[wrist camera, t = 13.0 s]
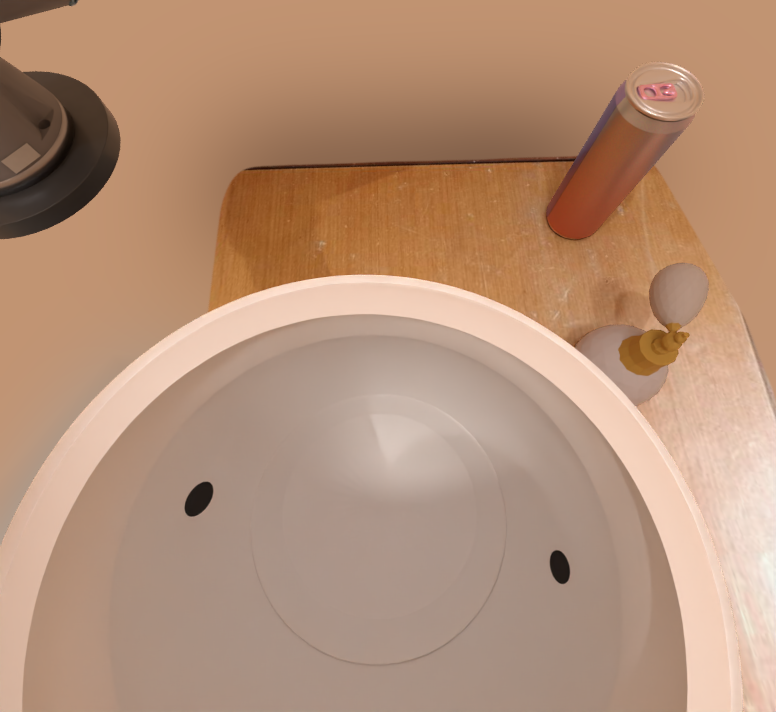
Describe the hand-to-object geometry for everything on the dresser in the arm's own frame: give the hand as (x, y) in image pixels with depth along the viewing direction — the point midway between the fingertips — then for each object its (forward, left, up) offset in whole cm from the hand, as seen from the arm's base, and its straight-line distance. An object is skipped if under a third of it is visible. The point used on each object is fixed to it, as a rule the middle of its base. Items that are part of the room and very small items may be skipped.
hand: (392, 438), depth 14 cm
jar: (+2, -2, -6) cm, 7 cm away
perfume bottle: (+8, +20, -21) cm, 30 cm away
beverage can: (-4, +32, -21) cm, 39 cm away
